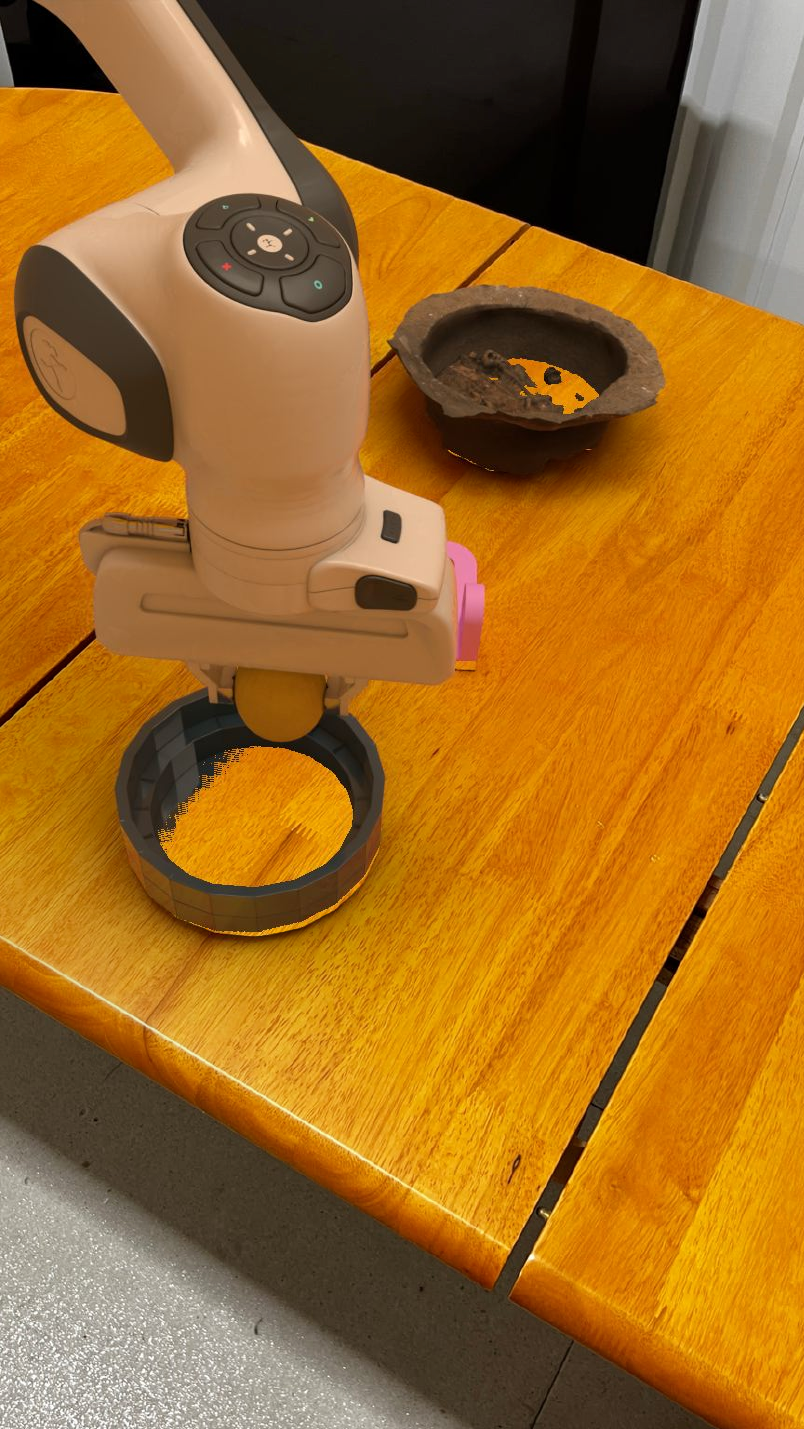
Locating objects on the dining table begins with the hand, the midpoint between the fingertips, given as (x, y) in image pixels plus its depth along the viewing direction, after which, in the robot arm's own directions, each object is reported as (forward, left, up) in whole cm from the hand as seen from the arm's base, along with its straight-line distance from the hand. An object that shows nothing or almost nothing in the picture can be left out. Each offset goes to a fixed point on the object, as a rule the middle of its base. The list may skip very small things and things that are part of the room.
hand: (281, 701), depth 74 cm
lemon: (0, 0, -3) cm, 3 cm away
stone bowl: (+16, +49, -15) cm, 54 cm away
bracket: (+10, +23, -15) cm, 29 cm away
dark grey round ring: (-2, 0, -15) cm, 15 cm away
